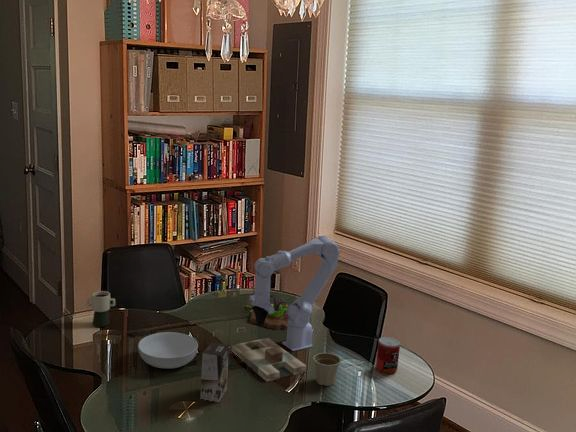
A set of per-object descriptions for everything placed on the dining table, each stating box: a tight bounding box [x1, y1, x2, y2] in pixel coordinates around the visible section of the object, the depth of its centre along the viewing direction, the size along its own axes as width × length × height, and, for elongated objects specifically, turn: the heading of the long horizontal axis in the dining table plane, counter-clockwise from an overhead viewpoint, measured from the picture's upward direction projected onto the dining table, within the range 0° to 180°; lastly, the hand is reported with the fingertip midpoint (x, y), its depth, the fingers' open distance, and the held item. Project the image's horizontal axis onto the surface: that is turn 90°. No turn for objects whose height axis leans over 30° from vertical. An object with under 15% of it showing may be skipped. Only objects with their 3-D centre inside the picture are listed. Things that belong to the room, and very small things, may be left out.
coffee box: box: [200, 342, 230, 403], centre depth 210 cm, size 9×6×16 cm
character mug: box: [86, 290, 116, 328], centre depth 258 cm, size 11×7×13 cm, turn 97°
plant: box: [249, 294, 289, 331], centre depth 275 cm, size 20×20×11 cm
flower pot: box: [313, 352, 342, 387], centre depth 224 cm, size 9×9×9 cm
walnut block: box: [265, 347, 283, 364], centre depth 233 cm, size 4×4×4 cm
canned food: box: [375, 336, 401, 375], centre depth 236 cm, size 8×8×11 cm
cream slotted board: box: [230, 337, 307, 382], centre depth 237 cm, size 16×26×2 cm, turn 33°
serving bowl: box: [137, 331, 199, 369], centre depth 231 cm, size 21×21×7 cm
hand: (260, 324), depth 246 cm, fingers closed
